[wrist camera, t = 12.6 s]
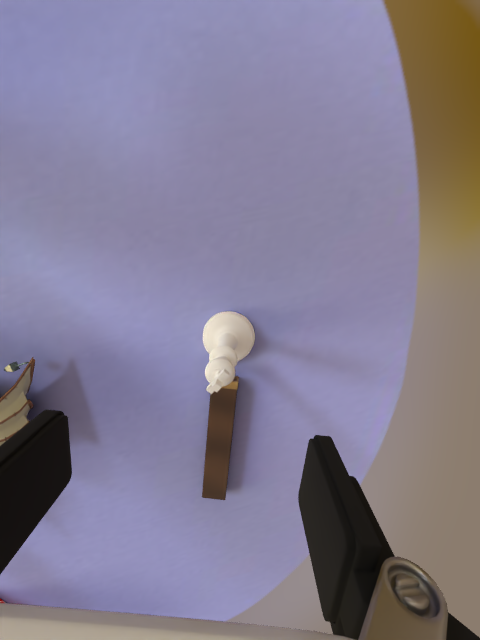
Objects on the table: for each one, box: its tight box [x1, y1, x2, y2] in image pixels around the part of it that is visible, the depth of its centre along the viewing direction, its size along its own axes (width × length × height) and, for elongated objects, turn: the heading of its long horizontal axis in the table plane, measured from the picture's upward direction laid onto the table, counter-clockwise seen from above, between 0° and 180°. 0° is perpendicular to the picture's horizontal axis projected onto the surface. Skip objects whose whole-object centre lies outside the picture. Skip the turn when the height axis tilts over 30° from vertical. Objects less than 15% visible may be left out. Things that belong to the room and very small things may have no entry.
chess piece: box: [203, 311, 255, 394], centre depth 21 cm, size 5×5×10 cm
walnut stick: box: [202, 376, 239, 500], centre depth 28 cm, size 14×3×1 cm, turn 174°
